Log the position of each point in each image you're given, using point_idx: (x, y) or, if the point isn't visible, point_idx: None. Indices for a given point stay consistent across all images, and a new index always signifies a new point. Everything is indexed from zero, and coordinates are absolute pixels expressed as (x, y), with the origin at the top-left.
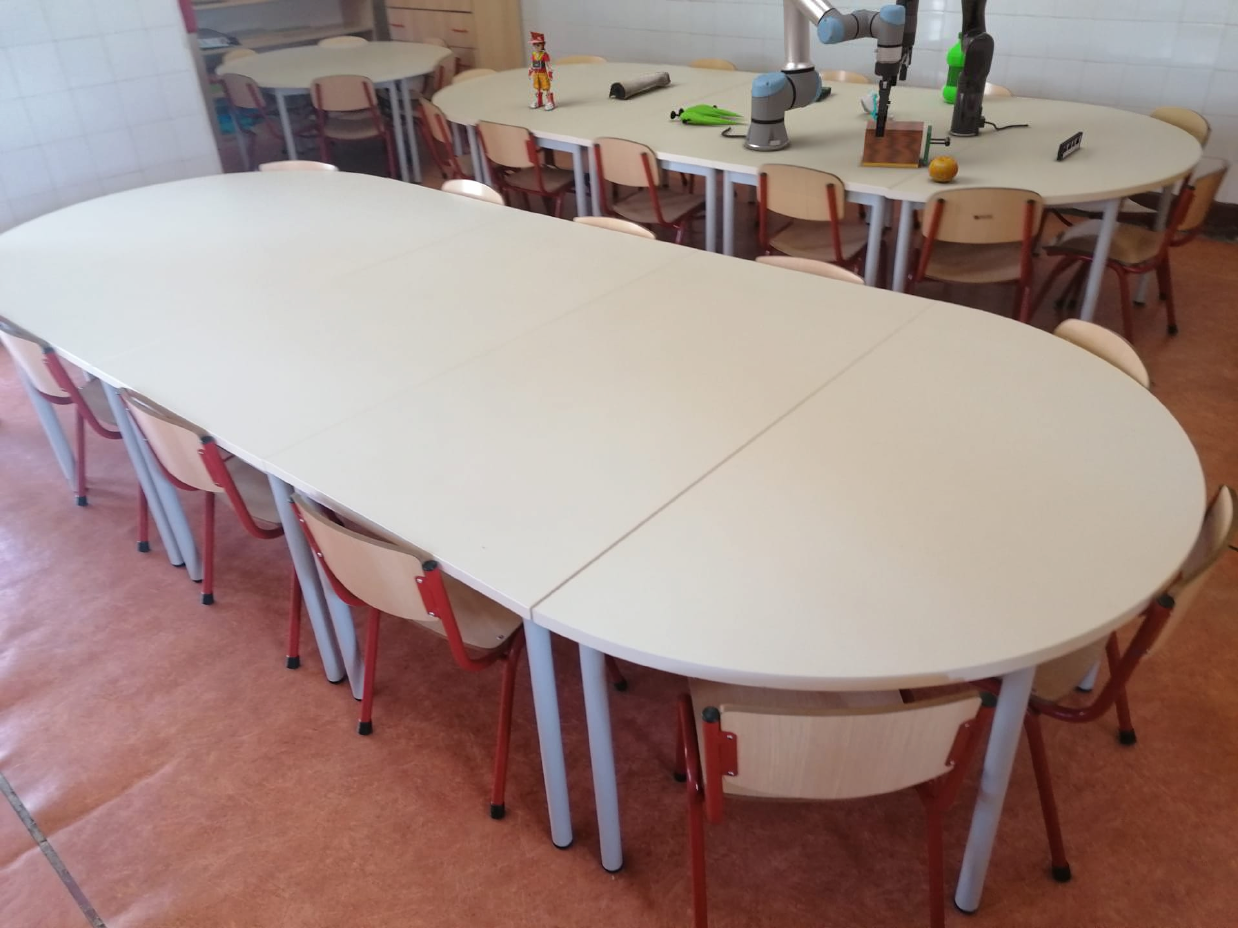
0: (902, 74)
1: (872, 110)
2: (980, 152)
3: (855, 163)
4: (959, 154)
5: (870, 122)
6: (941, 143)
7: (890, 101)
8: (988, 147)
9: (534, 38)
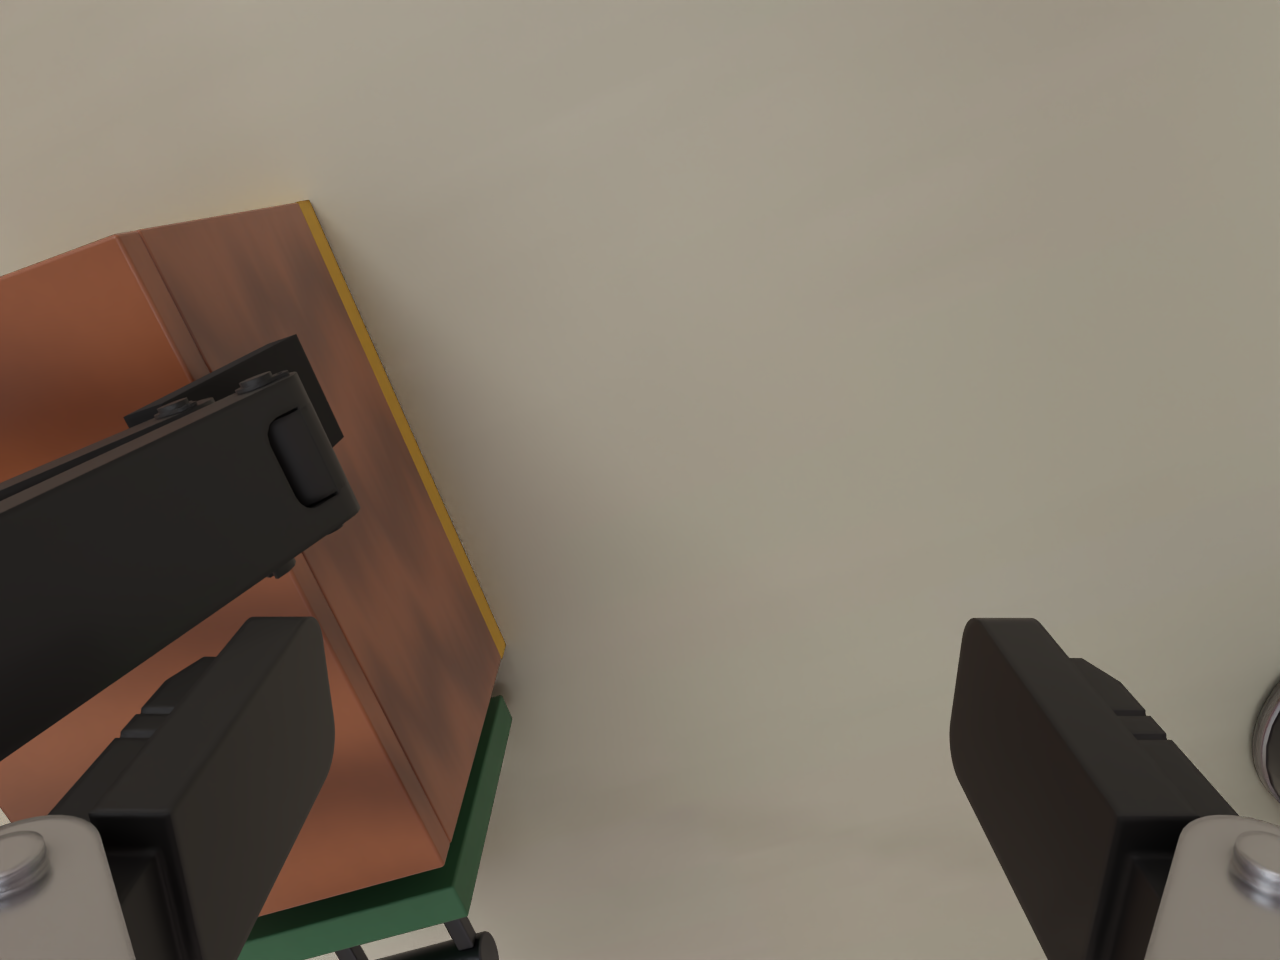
0: (1025, 780)
1: None
2: (854, 947)
3: (66, 209)
4: (747, 852)
5: (32, 314)
6: (340, 955)
7: (280, 570)
8: (1001, 957)
9: None
